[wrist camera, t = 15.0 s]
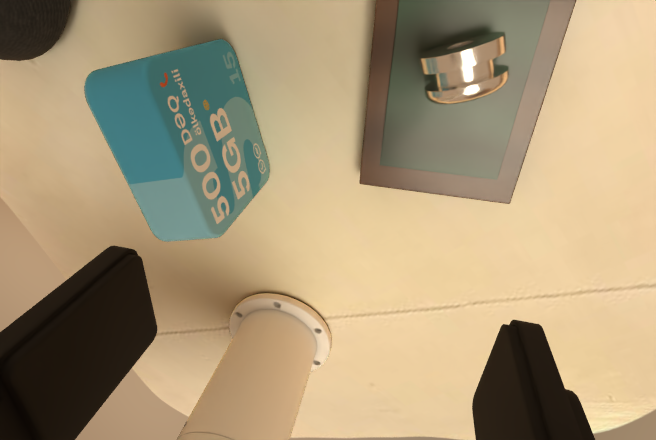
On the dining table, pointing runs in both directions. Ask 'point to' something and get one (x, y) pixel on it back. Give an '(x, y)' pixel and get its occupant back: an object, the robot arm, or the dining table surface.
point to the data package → (182, 137)
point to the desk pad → (463, 118)
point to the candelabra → (30, 27)
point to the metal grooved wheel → (465, 69)
